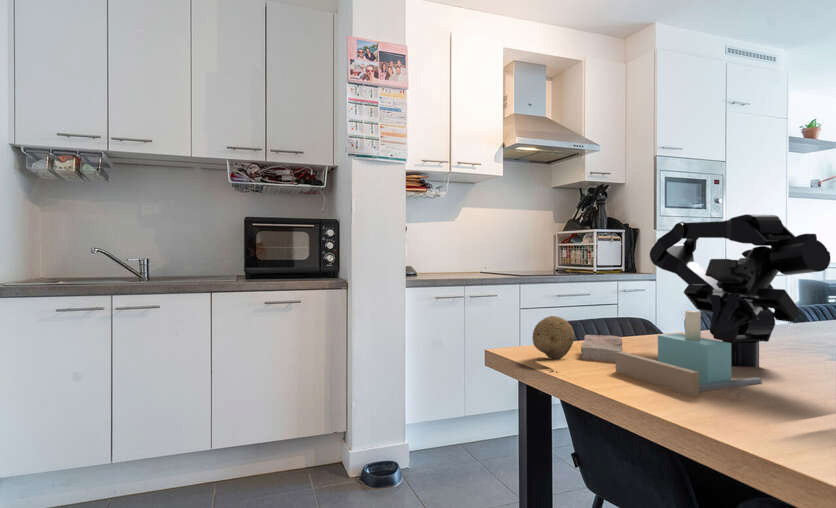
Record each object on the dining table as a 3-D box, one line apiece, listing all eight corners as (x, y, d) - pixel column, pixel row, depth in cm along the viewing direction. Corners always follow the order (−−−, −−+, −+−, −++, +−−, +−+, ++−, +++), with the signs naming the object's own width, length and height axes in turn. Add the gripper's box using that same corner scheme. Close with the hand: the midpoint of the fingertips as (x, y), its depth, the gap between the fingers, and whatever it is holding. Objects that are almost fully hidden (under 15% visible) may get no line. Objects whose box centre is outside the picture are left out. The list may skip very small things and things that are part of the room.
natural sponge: (554, 367, 94) (554, 320, 95) (523, 358, 102) (523, 315, 102) (582, 361, 99) (582, 317, 99) (551, 354, 107) (551, 312, 107)
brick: (622, 371, 92) (622, 348, 92) (579, 367, 96) (579, 345, 96) (621, 355, 107) (621, 336, 107) (584, 352, 111) (584, 333, 111)
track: (689, 371, 91) (689, 345, 91) (774, 394, 76) (774, 363, 76) (615, 379, 85) (615, 352, 85) (691, 406, 70) (691, 372, 70)
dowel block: (680, 369, 86) (680, 307, 86) (731, 383, 77) (731, 314, 77) (657, 372, 85) (657, 308, 85) (707, 386, 75) (707, 315, 75)
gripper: (690, 245, 94) (648, 299, 90) (786, 242, 76) (738, 309, 72) (718, 282, 96) (679, 336, 92) (818, 287, 78) (774, 354, 75)
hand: (712, 333), depth 83 cm, fingers closed
